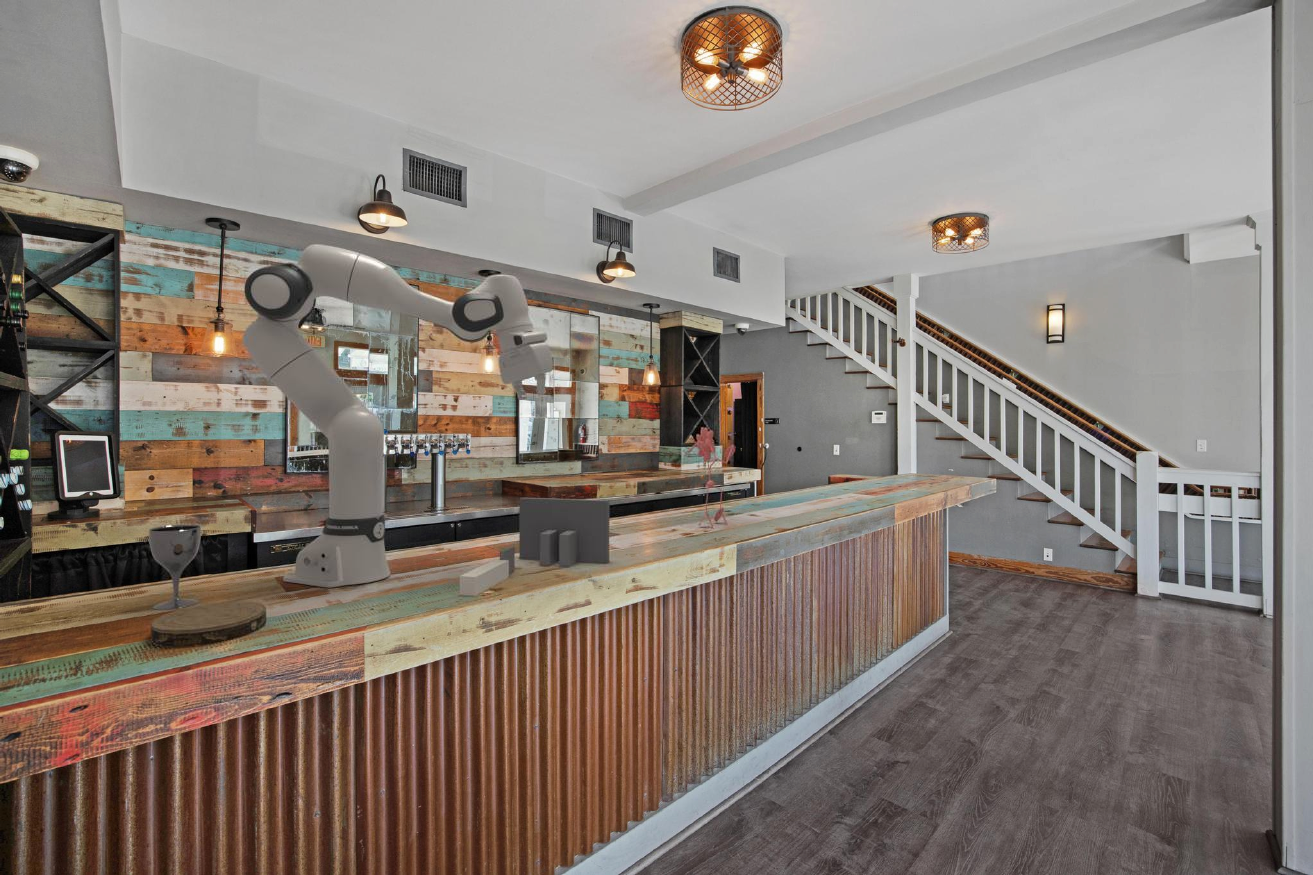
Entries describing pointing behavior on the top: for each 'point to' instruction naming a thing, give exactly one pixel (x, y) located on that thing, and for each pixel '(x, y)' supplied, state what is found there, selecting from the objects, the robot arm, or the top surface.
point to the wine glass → (175, 556)
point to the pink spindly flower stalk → (705, 450)
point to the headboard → (564, 530)
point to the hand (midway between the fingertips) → (532, 396)
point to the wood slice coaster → (208, 624)
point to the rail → (488, 574)
